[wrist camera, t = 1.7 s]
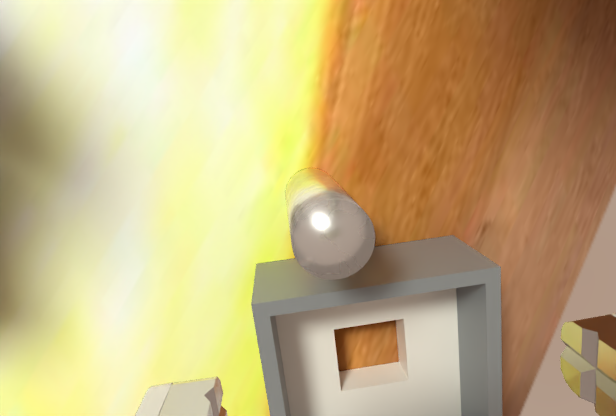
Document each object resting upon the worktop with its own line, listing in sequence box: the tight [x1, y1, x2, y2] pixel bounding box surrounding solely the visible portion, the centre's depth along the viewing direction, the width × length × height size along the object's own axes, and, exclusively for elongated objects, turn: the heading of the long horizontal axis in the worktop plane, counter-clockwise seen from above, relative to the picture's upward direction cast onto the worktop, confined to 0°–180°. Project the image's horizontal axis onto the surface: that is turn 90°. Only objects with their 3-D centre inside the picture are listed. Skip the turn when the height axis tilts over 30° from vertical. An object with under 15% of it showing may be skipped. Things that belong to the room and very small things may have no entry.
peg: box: [285, 168, 375, 280], centre depth 25 cm, size 4×4×12 cm
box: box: [251, 235, 502, 416], centre depth 30 cm, size 16×16×7 cm
